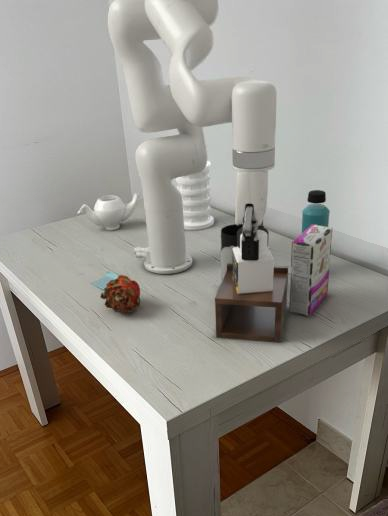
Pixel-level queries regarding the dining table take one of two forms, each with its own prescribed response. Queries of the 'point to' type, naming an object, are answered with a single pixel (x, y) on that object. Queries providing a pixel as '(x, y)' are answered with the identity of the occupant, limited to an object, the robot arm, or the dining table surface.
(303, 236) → the candy bar box
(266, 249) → the medicine bottle
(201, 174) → the decorative container
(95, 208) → the teapot
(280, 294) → the dark wooden cubby
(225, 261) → the black and white mug
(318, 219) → the beverage bottle
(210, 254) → the dining table surface
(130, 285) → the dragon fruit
